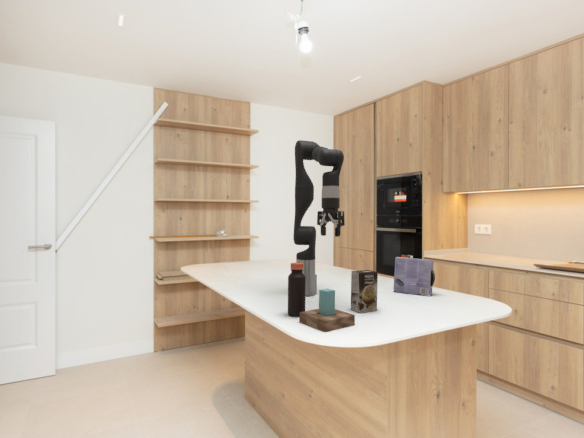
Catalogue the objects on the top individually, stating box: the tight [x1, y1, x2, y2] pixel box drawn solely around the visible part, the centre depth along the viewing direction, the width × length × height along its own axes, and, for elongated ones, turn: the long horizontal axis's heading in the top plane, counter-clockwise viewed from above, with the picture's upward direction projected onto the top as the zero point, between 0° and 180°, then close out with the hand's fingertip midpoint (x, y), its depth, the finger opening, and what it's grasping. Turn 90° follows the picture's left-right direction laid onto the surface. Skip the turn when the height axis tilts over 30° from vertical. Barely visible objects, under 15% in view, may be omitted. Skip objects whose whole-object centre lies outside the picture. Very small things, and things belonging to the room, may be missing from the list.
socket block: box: [298, 308, 356, 333], centre depth 134 cm, size 14×14×4 cm
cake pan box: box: [393, 256, 436, 296], centre depth 187 cm, size 19×5×18 cm, turn 58°
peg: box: [318, 288, 336, 317], centre depth 134 cm, size 4×4×12 cm
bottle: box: [287, 262, 306, 318], centre depth 146 cm, size 7×7×20 cm
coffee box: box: [350, 269, 379, 314], centre depth 153 cm, size 9×6×16 cm
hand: (330, 236), depth 156 cm, fingers open, 8 cm apart
